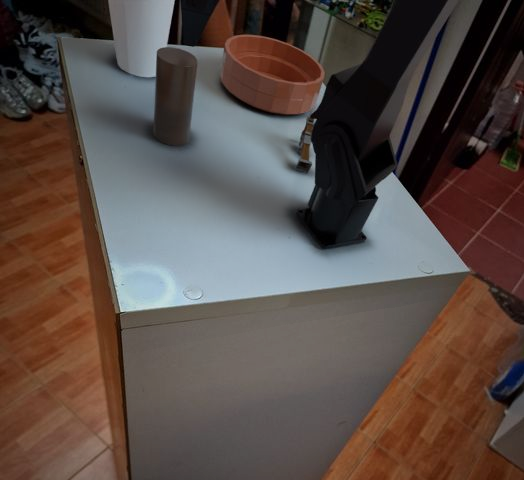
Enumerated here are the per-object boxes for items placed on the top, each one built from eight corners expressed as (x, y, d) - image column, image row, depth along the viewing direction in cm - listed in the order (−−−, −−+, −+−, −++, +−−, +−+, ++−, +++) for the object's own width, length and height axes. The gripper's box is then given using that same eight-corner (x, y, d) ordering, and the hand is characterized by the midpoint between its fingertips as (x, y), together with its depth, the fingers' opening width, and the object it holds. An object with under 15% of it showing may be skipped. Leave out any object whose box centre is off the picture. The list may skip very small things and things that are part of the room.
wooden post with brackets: (309, 134, 61) (319, 110, 57) (302, 183, 59) (313, 163, 55) (296, 130, 61) (306, 107, 56) (290, 180, 59) (299, 159, 55)
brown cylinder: (194, 145, 54) (203, 67, 47) (160, 146, 52) (165, 65, 45) (181, 126, 56) (188, 48, 49) (148, 126, 54) (150, 45, 47)
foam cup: (179, 64, 66) (187, -45, 56) (165, 89, 61) (171, -28, 50) (116, 45, 65) (114, -71, 55) (96, 68, 59) (89, -55, 49)
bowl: (330, 119, 68) (343, 85, 64) (246, 120, 61) (254, 82, 57) (285, 71, 75) (293, 38, 71) (204, 67, 68) (208, 30, 64)
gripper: (109, -247, 37) (115, -21, 49) (84, -240, 27) (100, 47, 39) (236, -199, 40) (212, 3, 52) (259, -175, 29) (222, 72, 42)
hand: (188, 27), depth 46 cm, fingers open, 9 cm apart
